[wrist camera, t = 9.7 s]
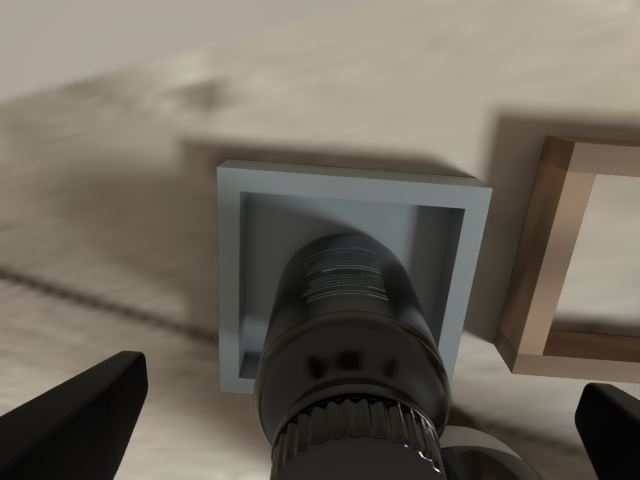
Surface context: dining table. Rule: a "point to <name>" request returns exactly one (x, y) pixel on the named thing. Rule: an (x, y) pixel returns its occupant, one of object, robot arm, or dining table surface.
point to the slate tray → (335, 218)
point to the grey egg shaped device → (481, 457)
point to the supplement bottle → (350, 369)
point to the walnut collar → (562, 268)
